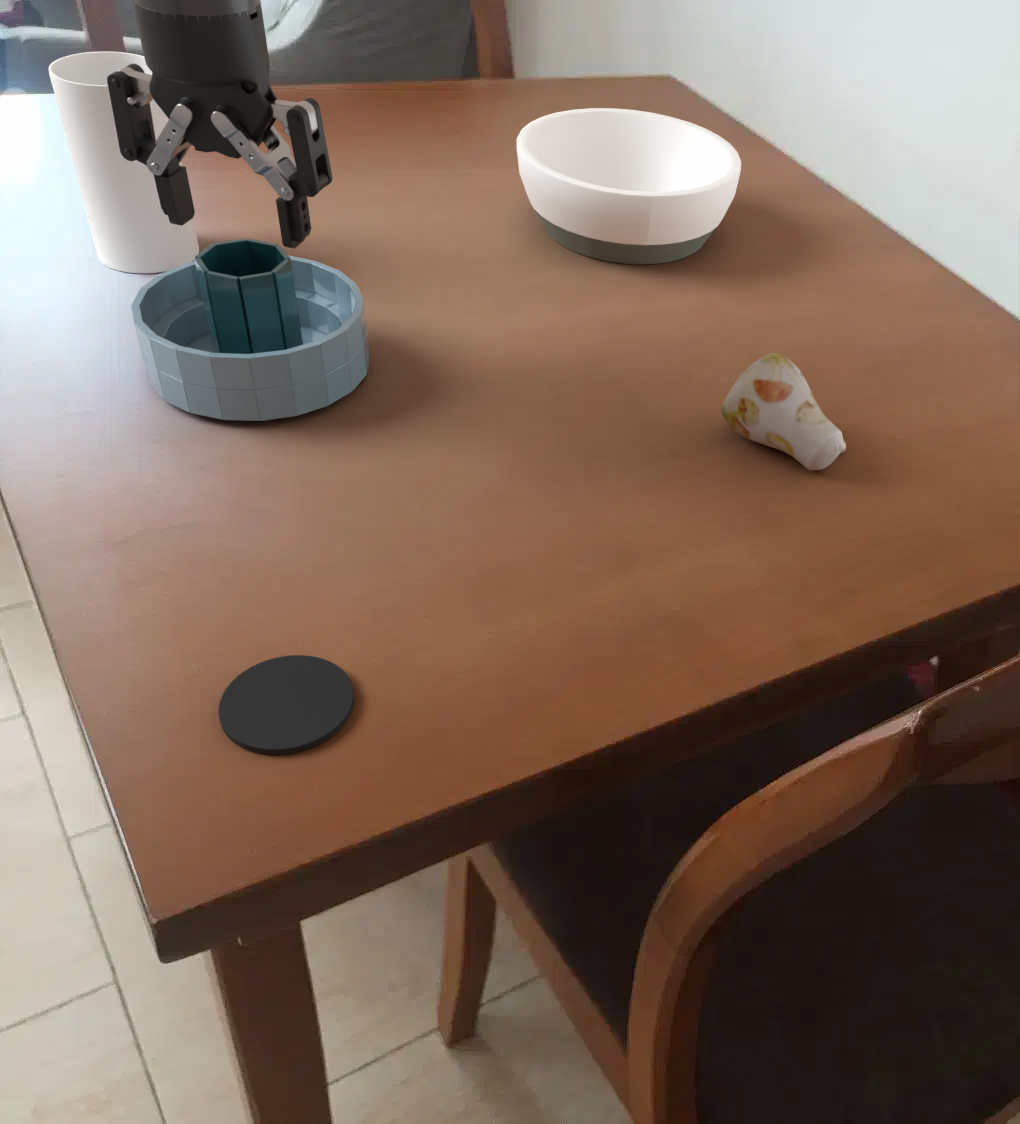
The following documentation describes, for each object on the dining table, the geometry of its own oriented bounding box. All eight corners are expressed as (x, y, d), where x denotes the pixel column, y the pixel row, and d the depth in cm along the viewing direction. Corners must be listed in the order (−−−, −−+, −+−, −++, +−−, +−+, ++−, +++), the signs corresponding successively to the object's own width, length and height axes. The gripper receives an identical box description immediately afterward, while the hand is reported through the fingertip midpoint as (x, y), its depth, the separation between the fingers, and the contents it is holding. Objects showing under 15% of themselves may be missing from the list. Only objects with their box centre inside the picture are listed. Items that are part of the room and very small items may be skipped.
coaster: (194, 739, 62) (192, 733, 61) (259, 649, 67) (258, 643, 67) (320, 767, 61) (319, 761, 61) (375, 674, 67) (374, 669, 66)
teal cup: (203, 375, 86) (179, 267, 81) (243, 337, 91) (224, 233, 85) (280, 390, 86) (262, 284, 80) (317, 352, 91) (302, 248, 85)
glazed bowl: (104, 402, 83) (83, 330, 79) (218, 304, 96) (205, 238, 92) (313, 445, 83) (302, 375, 79) (401, 341, 95) (396, 276, 91)
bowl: (705, 184, 128) (713, 111, 123) (756, 277, 112) (767, 197, 107) (506, 180, 122) (505, 102, 117) (529, 278, 106) (529, 193, 101)
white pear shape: (815, 500, 86) (768, 387, 81) (737, 484, 93) (690, 380, 88) (877, 448, 89) (836, 336, 84) (798, 436, 97) (755, 333, 92)
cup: (208, 266, 100) (172, 82, 90) (106, 279, 96) (56, 89, 86) (188, 227, 105) (151, 49, 95) (90, 238, 101) (40, 53, 91)
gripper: (51, -14, 69) (115, 234, 79) (274, 28, 68) (309, 273, 78) (124, -41, 74) (174, 194, 85) (330, -2, 74) (355, 230, 84)
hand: (239, 232), depth 82 cm, fingers open, 8 cm apart
